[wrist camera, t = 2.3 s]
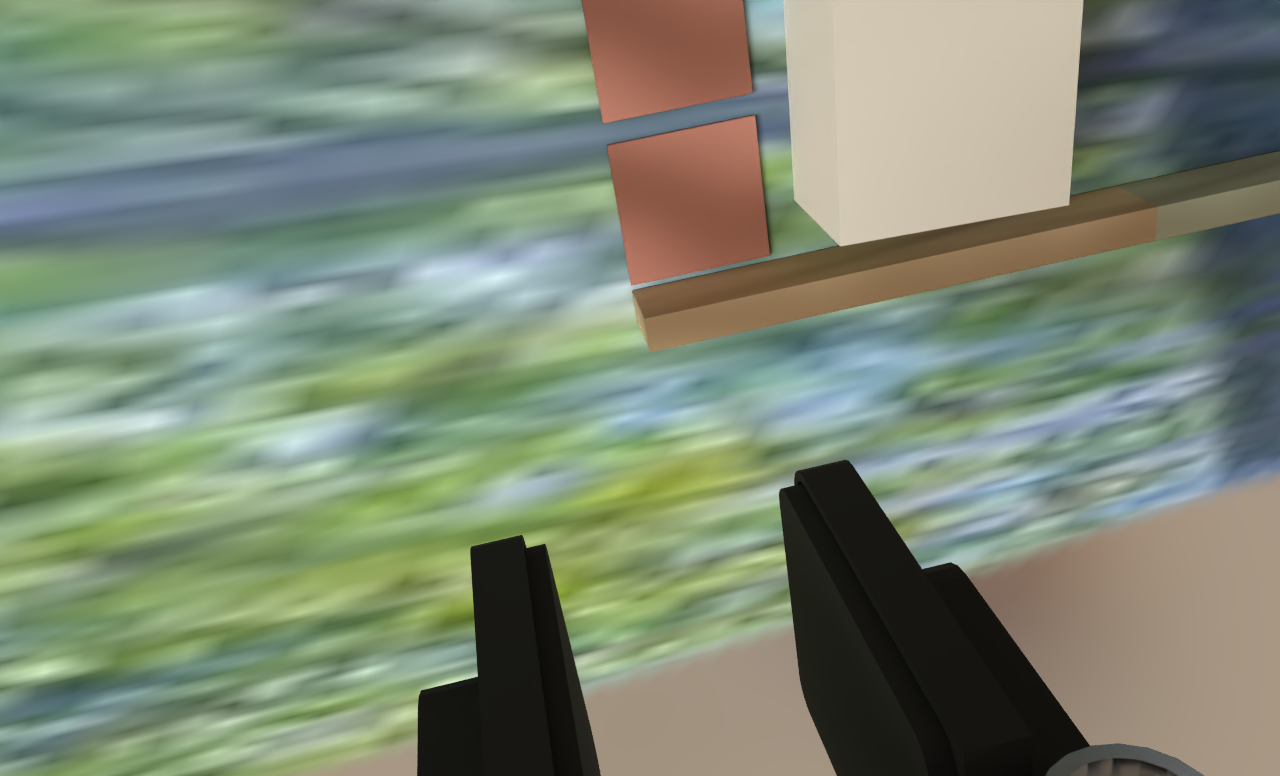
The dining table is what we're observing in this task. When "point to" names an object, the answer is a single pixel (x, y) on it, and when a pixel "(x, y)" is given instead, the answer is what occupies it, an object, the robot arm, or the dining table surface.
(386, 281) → the dining table surface
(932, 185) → the cream block
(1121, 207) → the finger lane
